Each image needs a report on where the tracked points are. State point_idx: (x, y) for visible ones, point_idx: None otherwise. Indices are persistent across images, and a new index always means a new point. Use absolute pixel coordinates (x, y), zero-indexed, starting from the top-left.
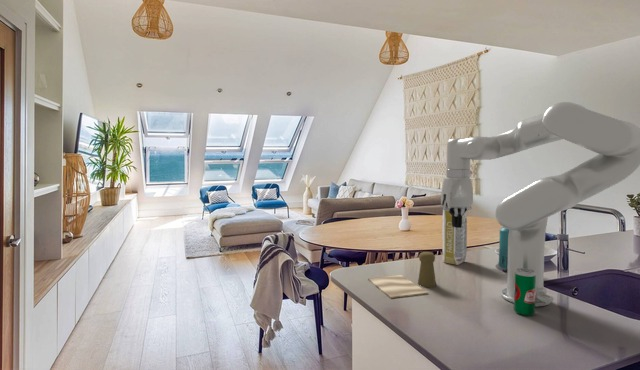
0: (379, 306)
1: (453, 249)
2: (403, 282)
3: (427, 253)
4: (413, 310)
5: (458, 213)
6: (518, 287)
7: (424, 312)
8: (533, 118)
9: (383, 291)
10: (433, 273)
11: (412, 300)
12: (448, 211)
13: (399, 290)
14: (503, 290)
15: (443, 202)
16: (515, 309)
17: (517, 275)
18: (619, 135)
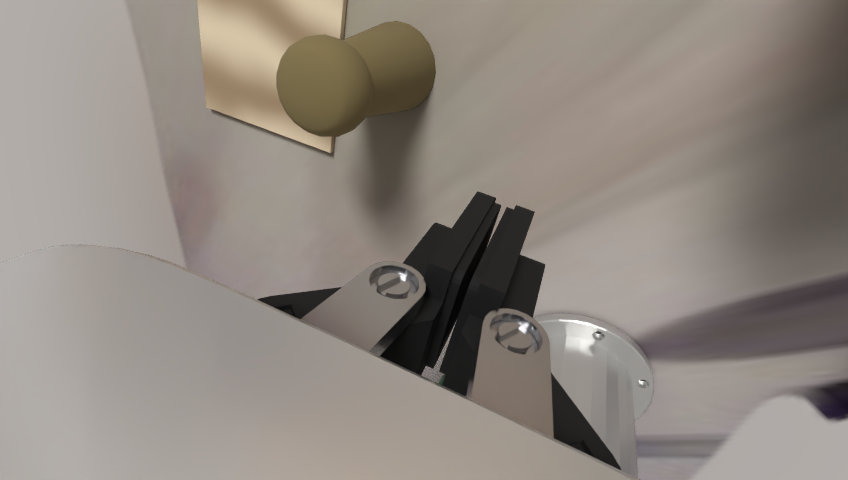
0: (168, 133)
1: None
2: (305, 4)
3: (298, 109)
4: (236, 206)
5: (456, 375)
6: None
7: (254, 231)
8: None
9: (202, 47)
10: (379, 114)
11: (262, 159)
12: (284, 297)
13: (252, 77)
14: (554, 324)
15: (50, 294)
16: (440, 380)
17: None
18: None
